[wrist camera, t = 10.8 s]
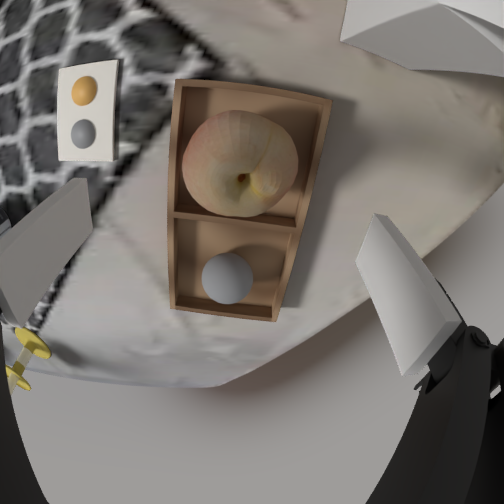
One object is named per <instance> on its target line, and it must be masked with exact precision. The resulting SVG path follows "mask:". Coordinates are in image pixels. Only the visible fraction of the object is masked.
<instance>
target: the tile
mask: <svg viewBox="0 0 504 504" xmlns="http://www.w3.org/2000/svg"><path fill="white" fill-rule="evenodd" d="M118 66H119V60H110V61H102V62H95V63H88V64H82V65H77V66H71V67H66V68H62V69H59V79H58V99H57V135H58V155H59V161H114V128H115V103H116V88H117V76H118Z"/></svg>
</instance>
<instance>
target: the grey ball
mask: <svg viewBox="0 0 504 504" xmlns="http://www.w3.org/2000/svg"><path fill="white" fill-rule="evenodd" d="M252 284H253V273H252V270H251V267H250V266H249V264H248V263H247V261H246V260H245V259H244V258H242V257H241V256H239V255H237V254H234V253H221V254H218V255H216V256H214V257H212V258H211V259H210V260H209V261H208V262H207V263H206V265H205V267H204V269H203V272H202V285H203V288H204V290H205V292H206V293H207V295H208V296H209V297H210V298H211V299H213V300H214V301H216V302H218V303H222V304H233V303H237V302H239V301H241V300H242V299H244V298H245V297H246V296H247V295H248V293H249V292H250V290H251V287H252Z"/></svg>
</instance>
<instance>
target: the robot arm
mask: <svg viewBox="0 0 504 504" xmlns="http://www.w3.org/2000/svg"><path fill="white" fill-rule="evenodd" d="M92 231H93V226H92V220H91V212H90V205H89V196H88V186H87V178H73V179H72V180H70V181H69V182H68V183H66V184H65V185H64V186H62V187H61V188H60V189H58V190H57V191H56V192H54V193H53V194H52V195H50V196H49V197H48V198H47V199H45V200H44V201H43V202H42V203H40V204H39V205H38V206H37V207H36V208H34V209H33V210H32V211H31V212H30V213H28V214H27V215H26V216H25V217H24V218H23V219H22V220H20V221H19V222H18V223H17V224H16V225H15V226H14V227H13V228H12V229H11V230H9V231H8V232H7V233H6V234H5V235H4V236H3V237H2V238H1V239H0V314H1V313H3V315H4V316H5V318H6V320H7V322H8V324H10V325H13V326H15V327H18V328H20V329H22V328H23V327H24V325H25V323H26V322H27V320H28V318H29V317H30V315H31V314H32V312H33V310H34V309H35V307H36V306H37V304H38V303H39V301H40V300H41V298H42V297H43V295H44V294H45V292H46V291H47V290H48V288H49V287H50V285H51V284H52V282H53V281H54V280H55V278H56V277H57V275H58V274H59V273H60V271H61V270H62V269H63V267H64V266H65V265H66V263H67V262H68V261H69V259H70V258H71V257H72V256H73V254H74V253H75V252H76V251H77V249H78V248H79V247H80V246H81V244H82V243H83V242H84V241H85V239H86V238H87V237H88V236H89V235H90V233H91V232H92ZM355 263H356V265H357V268H358V270H359V272H360V274H361V276H362V278H363V281H364V283H365V285H366V287H367V289H368V292H369V294H370V296H371V298H372V300H373V303H374V305H375V308H376V310H377V312H378V315H379V317H380V319H381V322H382V325H383V327H384V330H385V332H386V334H387V337H388V340H389V342H390V345H391V347H392V350H393V353H394V355H395V358H396V361H397V364H398V366H399V369H400V372H401V375H402V376H406V375H415V374H418V373H419V372H420V371H421V370H422V369H423V368H424V366H426V365H427V364H428V366H429V369H430V371H429V372H428V373H427V374H426V376H425V377H424V378H423V379H422V380H421V381H420V382H419V383H418V384H417V385H416V386H415V388H414V390H417V389H418V388H419V387H420V386H422V387H421V390H420V391H419V396H418V399H417V401H416V404H415V407H414V409H413V412H412V415H411V417H410V419H409V422H408V424H407V426H406V429H405V431H404V433H403V436H402V438H401V440H400V442H399V444H398V446H397V448H396V450H395V453H394V455H393V457H392V459H391V460H390V462H389V464H388V466H387V468H386V470H385V472H384V474H383V475H382V477H381V479H380V481H379V482H378V484H377V486H376V487H375V489H374V491H373V492H372V494H371V496H370V497H369V499H368V501H367V502H366V504H504V338H503V339H502V341H501V342H500V343H499V344H498V346H496V345H493V344H491V343H490V341H489V339H488V337H487V336H486V334H485V333H484V332H483V331H482V330H481V329H479V328H477V327H475V326H467V325H466V323H465V321H464V320H463V318H462V316H461V315H460V313H459V311H458V310H457V308H456V307H455V305H454V303H453V302H451V299H450V297H449V296H448V294H446V291H445V290H444V288H443V287H442V285H441V284H440V283H439V282H438V281H437V280H436V279H435V278H434V277H433V275H432V274H431V272H430V271H429V269H428V268H427V267H426V266H425V264H424V262H423V261H422V260H421V258H420V257H419V256H418V254H417V253H416V252H415V250H414V249H413V248H412V246H411V245H410V244H409V242H408V241H407V240H406V239H405V237H404V236H403V235H402V233H401V232H400V231H399V230H398V228H397V227H396V226H395V225H394V224H393V222H392V221H391V220H390V219H389V217H388V216H384V215H379V214H375V213H374V214H373V217H372V220H371V222H370V225H369V228H368V231H367V233H366V236H365V238H364V241H363V244H362V246H361V249H360V251H359V254H358V256H357V259H356V261H355ZM498 385H500V386H501V391H500V392H499V393H498V394H497V395H496V396H495V397H494V398H492V399H491V397H490V393H491V392H492V391H493V390H494V389H495V388H497V387H498ZM0 504H49V503H48V502H47V500H46V498H45V497H44V495H43V493H42V490H41V488H40V486H39V484H38V482H37V479H36V477H35V474H34V472H33V470H32V467H31V464H30V462H29V459H28V456H27V454H26V450H25V448H24V444H23V441H22V438H21V435H20V432H19V428H18V424H17V421H16V417H15V413H14V409H13V405H12V400H11V395H10V390H9V385H8V379H7V372H6V366H5V358H4V349H3V337H2V325H1V322H0Z"/></svg>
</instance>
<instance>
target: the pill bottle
mask: <svg viewBox="0 0 504 504" xmlns="http://www.w3.org/2000/svg"><path fill="white" fill-rule="evenodd" d="M11 229H12V228H11V223H10V220H9V218H8V216H7V214H6V213H5V211H4V210H3V209H2V208H1V207H0V239H1V238H2V237H3V236H4V235H5V234H6V233H7V232H8V231H9V230H11Z"/></svg>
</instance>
